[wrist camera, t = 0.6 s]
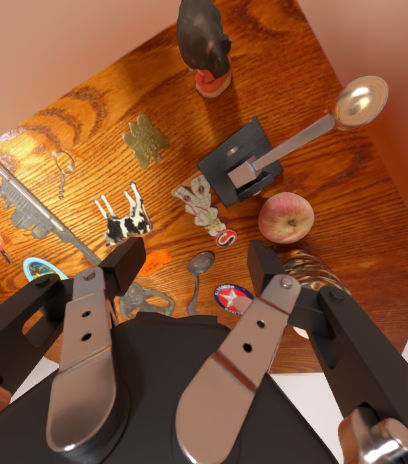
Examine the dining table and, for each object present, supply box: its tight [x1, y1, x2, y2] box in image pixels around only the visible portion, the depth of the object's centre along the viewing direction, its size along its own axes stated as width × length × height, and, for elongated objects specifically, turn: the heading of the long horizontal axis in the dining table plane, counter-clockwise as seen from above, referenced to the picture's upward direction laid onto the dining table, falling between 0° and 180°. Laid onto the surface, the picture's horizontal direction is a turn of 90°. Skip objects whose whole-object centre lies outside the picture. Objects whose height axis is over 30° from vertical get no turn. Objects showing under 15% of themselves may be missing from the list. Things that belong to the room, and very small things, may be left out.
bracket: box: [197, 117, 284, 208], centre depth 24 cm, size 12×10×14 cm
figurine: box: [177, 0, 232, 99], centre depth 20 cm, size 6×6×12 cm
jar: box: [270, 241, 353, 339], centre depth 30 cm, size 12×12×15 cm
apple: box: [258, 192, 314, 244], centre depth 29 cm, size 9×9×8 cm
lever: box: [228, 76, 388, 188], centre depth 16 cm, size 13×3×3 cm, turn 126°
